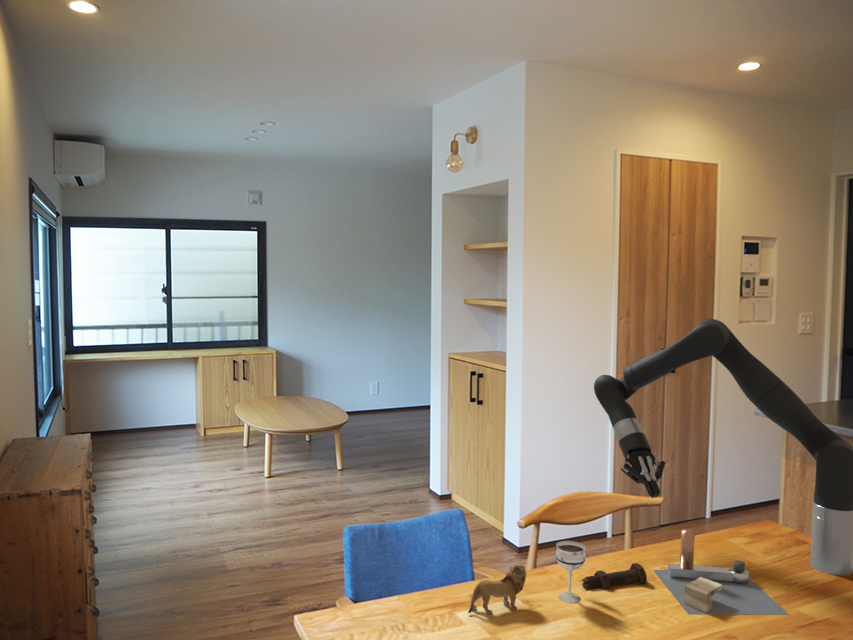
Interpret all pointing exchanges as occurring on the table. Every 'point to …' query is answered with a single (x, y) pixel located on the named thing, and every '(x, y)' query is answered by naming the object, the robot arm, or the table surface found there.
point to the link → (693, 571)
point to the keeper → (701, 593)
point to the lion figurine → (500, 588)
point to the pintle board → (726, 596)
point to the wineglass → (570, 564)
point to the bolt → (616, 578)
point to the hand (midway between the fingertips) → (655, 496)
